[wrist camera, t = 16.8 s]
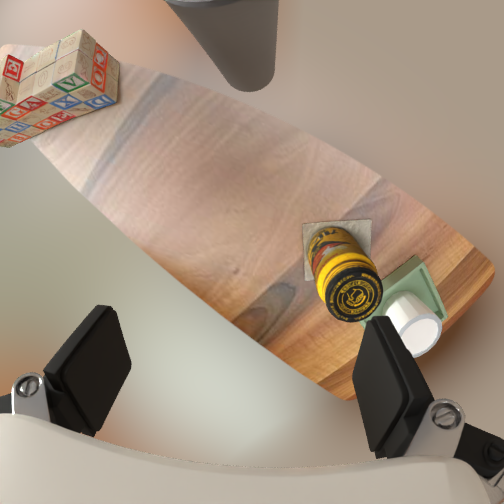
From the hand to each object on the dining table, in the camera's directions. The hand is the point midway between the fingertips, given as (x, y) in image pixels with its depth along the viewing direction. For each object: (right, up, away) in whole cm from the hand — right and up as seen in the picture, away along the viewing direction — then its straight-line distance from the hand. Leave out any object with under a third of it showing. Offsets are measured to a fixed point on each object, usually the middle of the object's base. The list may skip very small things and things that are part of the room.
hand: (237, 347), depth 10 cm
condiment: (+11, +4, +25) cm, 27 cm away
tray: (+21, -4, +27) cm, 34 cm away
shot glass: (+21, -4, +26) cm, 34 cm away
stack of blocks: (-26, +23, +19) cm, 40 cm away
